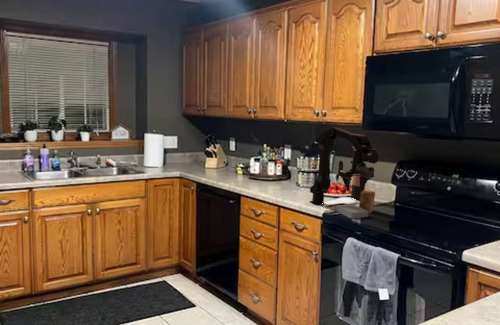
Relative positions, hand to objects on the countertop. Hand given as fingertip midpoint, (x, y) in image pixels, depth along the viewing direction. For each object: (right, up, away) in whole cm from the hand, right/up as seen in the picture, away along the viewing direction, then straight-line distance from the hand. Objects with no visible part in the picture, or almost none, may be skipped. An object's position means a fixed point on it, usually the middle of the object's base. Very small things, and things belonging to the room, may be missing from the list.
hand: (354, 190), depth 223 cm
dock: (+1, -13, +10) cm, 17 cm away
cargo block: (+11, -4, +16) cm, 20 cm away
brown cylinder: (+10, -12, +18) cm, 24 cm away
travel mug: (+11, -8, +41) cm, 43 cm away
